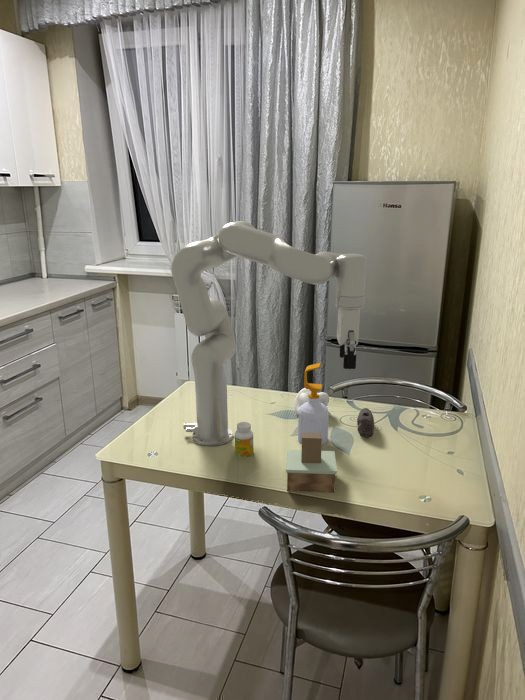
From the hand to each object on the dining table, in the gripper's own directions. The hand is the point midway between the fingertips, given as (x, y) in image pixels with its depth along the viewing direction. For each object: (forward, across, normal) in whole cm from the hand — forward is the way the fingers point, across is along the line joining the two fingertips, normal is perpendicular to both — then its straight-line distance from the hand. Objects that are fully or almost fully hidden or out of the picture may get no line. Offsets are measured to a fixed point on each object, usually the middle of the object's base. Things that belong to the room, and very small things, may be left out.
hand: (347, 362), depth 145 cm
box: (+28, +15, -10) cm, 34 cm away
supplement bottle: (+29, +1, -29) cm, 40 cm away
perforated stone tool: (+29, -17, +9) cm, 34 cm away
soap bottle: (+29, -10, -8) cm, 31 cm away
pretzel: (+29, -29, -8) cm, 41 cm away
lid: (+22, +15, -10) cm, 29 cm away
